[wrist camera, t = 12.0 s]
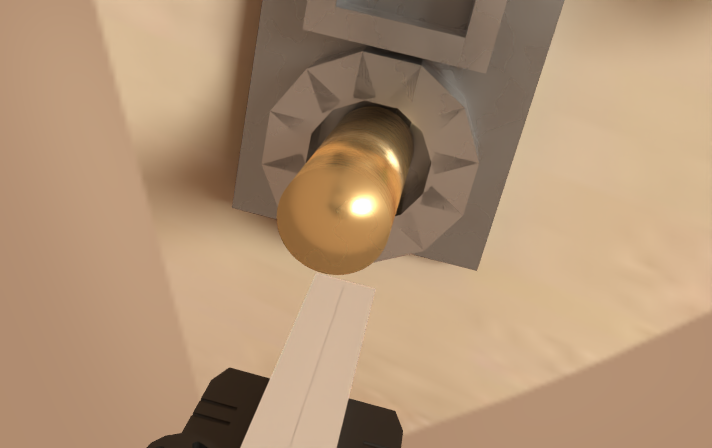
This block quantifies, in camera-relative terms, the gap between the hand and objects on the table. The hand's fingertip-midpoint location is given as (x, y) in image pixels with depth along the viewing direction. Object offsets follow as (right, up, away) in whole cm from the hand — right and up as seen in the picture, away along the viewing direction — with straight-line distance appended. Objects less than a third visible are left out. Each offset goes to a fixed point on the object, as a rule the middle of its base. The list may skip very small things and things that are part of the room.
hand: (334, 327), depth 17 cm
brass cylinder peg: (+1, +6, +16) cm, 17 cm away
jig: (+3, +11, +16) cm, 19 cm away
